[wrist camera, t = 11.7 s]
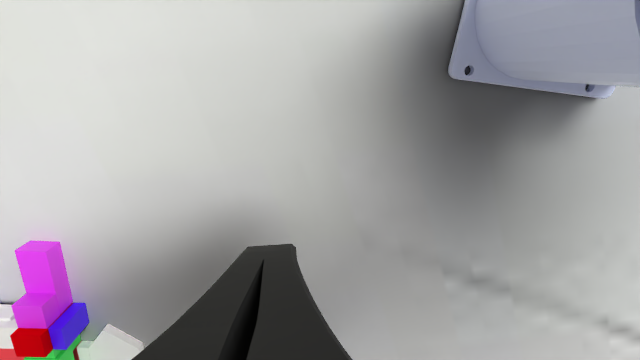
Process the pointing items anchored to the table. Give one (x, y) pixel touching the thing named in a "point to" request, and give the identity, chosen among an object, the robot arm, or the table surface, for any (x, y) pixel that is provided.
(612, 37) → the robot arm
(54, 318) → the building block set
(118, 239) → the table surface
